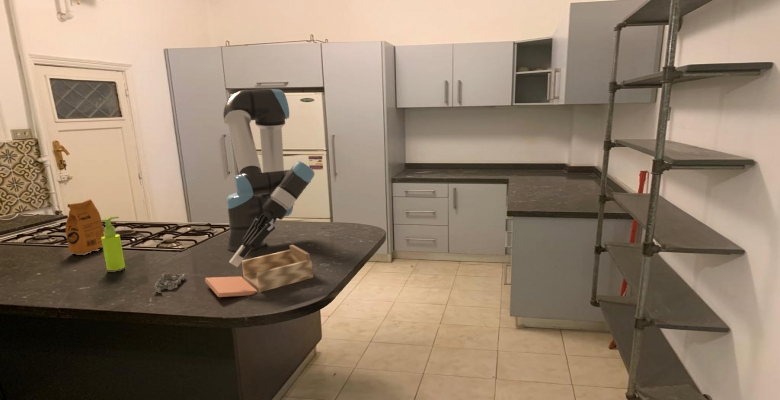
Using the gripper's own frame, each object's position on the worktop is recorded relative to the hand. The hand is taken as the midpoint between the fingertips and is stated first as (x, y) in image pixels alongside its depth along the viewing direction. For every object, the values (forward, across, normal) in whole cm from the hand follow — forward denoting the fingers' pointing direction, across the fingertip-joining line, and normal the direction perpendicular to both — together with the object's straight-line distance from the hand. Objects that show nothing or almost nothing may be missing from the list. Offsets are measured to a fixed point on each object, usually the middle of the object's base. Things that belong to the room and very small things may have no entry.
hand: (233, 264), depth 140 cm
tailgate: (+3, 0, -9) cm, 9 cm away
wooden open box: (-3, +1, -16) cm, 17 cm away
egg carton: (+18, +19, +5) cm, 27 cm away
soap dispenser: (+28, +51, +14) cm, 60 cm away
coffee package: (+34, +87, +20) cm, 96 cm away
